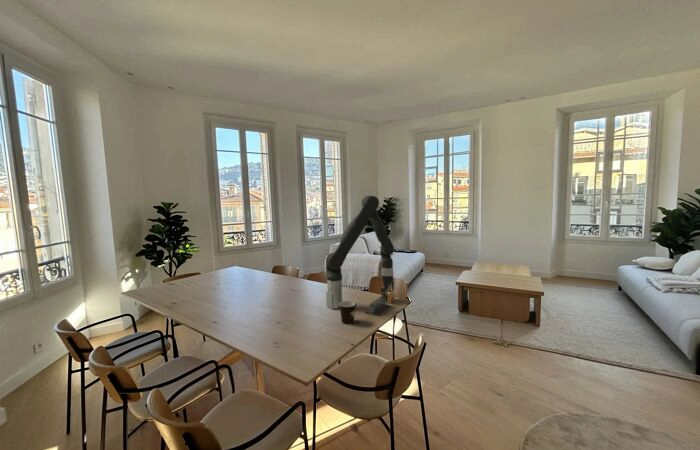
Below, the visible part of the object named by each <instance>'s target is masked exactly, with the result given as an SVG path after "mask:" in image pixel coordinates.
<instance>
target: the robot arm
mask: <svg viewBox="0 0 700 450" xmlns="http://www.w3.org/2000/svg"><path fill="white" fill-rule="evenodd" d="M379 204H380V200H379V199H378V197H377V196H374V195H367V196H364V197H363V199H362V201H361V206H362V208H361V209H360V211H359V213H358V214H357V215H356V216H355V217H354V218H353V219H352V220H351V221H350V222H349V223H348V225H347V227H346V228H345V230H344V232H343V233H342V236H341V239H340V241H339V244H338V246H337V248H336V250H334V252H331V253H329V254H328V255H327V256H326V258H325V264H326V265H325V266H326V267H325V269H326V270H325V271H326V280H327V281H326V283H327V285H326V286H327V290H326V291H325V292H326V293H325V294H326V307H327V308H329V309H330V310H337V309H340V305H339V304H340V303H341V302H344V299H343V295H344V294H343V274H342V266H343V264H344V262H345V260H346V258H347V256H348V254H349V252H350V251H351V249H352V248H353V246H354V245H355V243H356V241H357V240H358V238H360V236H361V234H362V232H363V230H364V229H365V227H366V225H367V223H368V221H370V223H371V227H372V228H373V231H374V234H375V236H376V238H377V241H378V242H379V243H380V247H379V248H380V249H379V250H380V251H379V252H380V258H381V282H382V283H383V285H381V286H380V291H381V292H380V296H381V295H383V296H386V301H387V293H388V292H393V291H394V289H395V287H394V285H395V281H394V263H393V259H392V255H393V254H394V252H395V247H394V244H393V242H392V241H391V239H390V237H389V235H388V231H387V229H386V227H385V224H384V223H383V221H382V219H381V218H380V216H379V214H378V210H377V209H378V208H379Z"/></svg>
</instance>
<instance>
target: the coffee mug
mask: <svg viewBox="0 0 700 450" xmlns="http://www.w3.org/2000/svg"><path fill="white" fill-rule="evenodd" d="M339 305H340V308H339V311H340V316H341V323H342V324H343V325H351V324H353V323H354V322H355V313H356V312H355V311H356V309H357V303H356V302H354V301H350V300H348V301H347V300H346V301H345V300H344V301H343V302H341V303H340V304H339Z"/></svg>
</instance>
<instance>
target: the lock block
mask: <svg viewBox="0 0 700 450" xmlns="http://www.w3.org/2000/svg"><path fill="white" fill-rule="evenodd" d="M395 294H396V293H395V292H393V291H392V292H388V293H387V301H386V304H387V303H388V304H391V303H392V301H394V302H395V300H396V299H395V298H396V297H395V296H396V295H395ZM381 296H383V295H381V294H380V297H381Z"/></svg>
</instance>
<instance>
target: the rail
mask: <svg viewBox="0 0 700 450" xmlns="http://www.w3.org/2000/svg"><path fill="white" fill-rule="evenodd" d="M391 307H392V305H390V304H387V302H386V296H381V295H380V297H379V298H377V299H375V300H374V301H372V302H370V303H369V308H368V309H367V310H365V311H364V313H365V314H368V315H375V316H381V315H382V314H383V313H385V312H386V311H387V310H389V309H390V308H391Z"/></svg>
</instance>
